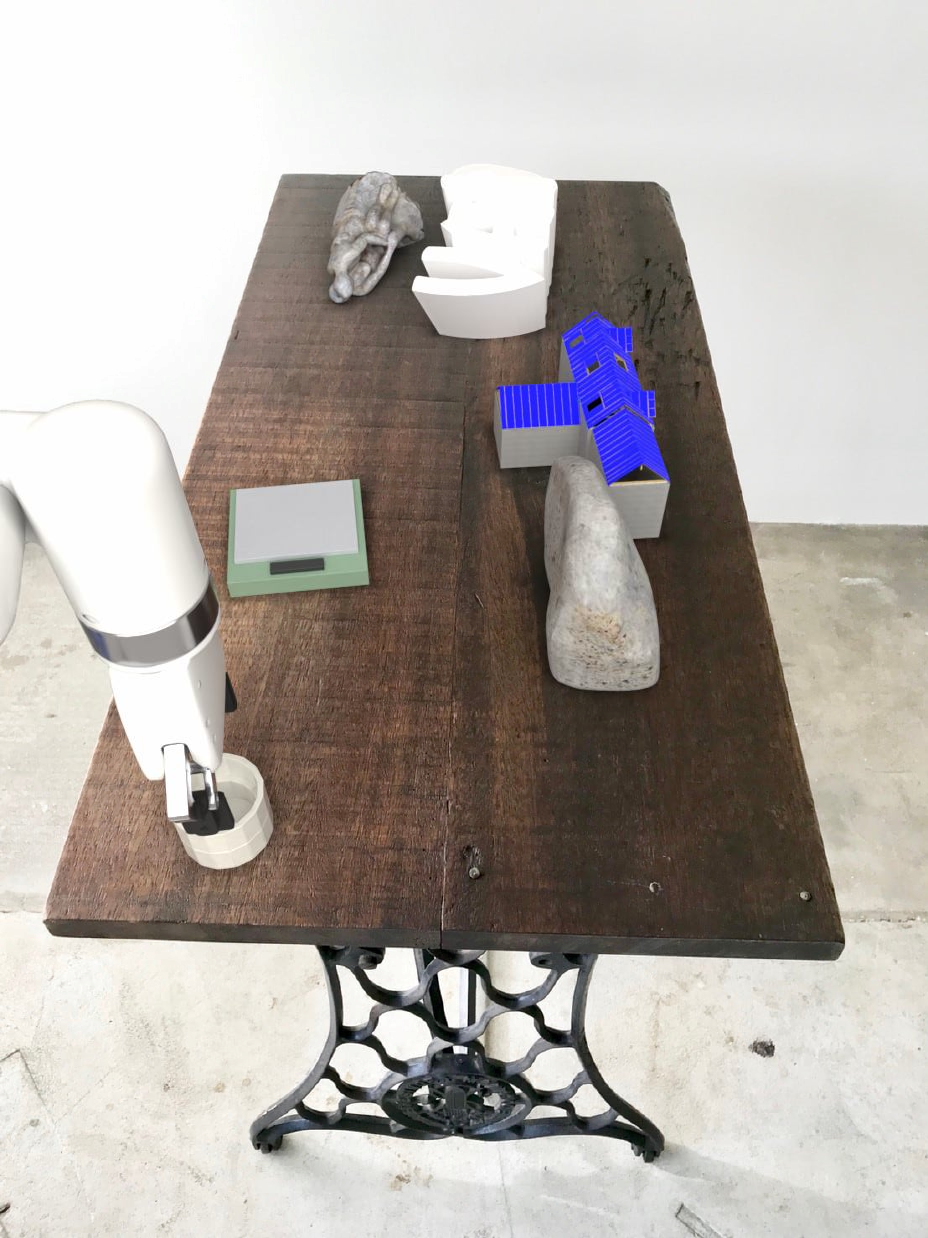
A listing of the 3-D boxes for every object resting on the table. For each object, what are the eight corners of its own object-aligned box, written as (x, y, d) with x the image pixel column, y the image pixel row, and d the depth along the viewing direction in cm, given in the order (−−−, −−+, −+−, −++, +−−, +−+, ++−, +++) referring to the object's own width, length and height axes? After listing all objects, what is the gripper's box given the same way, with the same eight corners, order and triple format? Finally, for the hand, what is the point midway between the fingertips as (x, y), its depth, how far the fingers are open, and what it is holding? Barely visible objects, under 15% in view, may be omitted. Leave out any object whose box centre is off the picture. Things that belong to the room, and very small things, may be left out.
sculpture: (379, 347, 126) (294, 310, 124) (416, 258, 135) (337, 222, 133) (401, 287, 117) (309, 246, 115) (439, 195, 126) (354, 155, 124)
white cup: (181, 877, 72) (164, 841, 68) (186, 797, 77) (170, 758, 72) (274, 866, 73) (263, 829, 69) (274, 787, 77) (263, 748, 73)
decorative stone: (661, 710, 82) (544, 714, 82) (625, 544, 95) (524, 548, 95) (697, 577, 70) (559, 582, 69) (650, 407, 82) (533, 410, 82)
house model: (664, 536, 96) (681, 458, 88) (514, 546, 95) (518, 467, 88) (616, 386, 112) (627, 309, 105) (487, 393, 111) (489, 316, 104)
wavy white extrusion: (535, 368, 114) (541, 287, 107) (400, 353, 116) (395, 272, 108) (568, 226, 137) (575, 150, 129) (454, 215, 139) (454, 140, 131)
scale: (230, 597, 91) (225, 578, 89) (233, 504, 99) (229, 485, 97) (369, 584, 92) (367, 565, 90) (360, 493, 100) (358, 474, 98)
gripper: (99, 509, 60) (168, 675, 73) (61, 740, 49) (150, 888, 62) (220, 497, 61) (267, 664, 74) (210, 722, 50) (268, 873, 63)
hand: (214, 766), depth 68 cm, fingers open, 9 cm apart
